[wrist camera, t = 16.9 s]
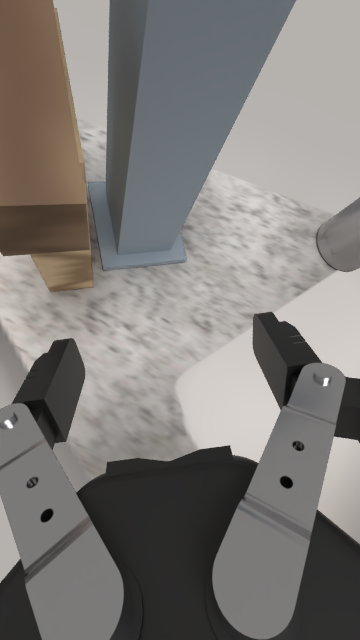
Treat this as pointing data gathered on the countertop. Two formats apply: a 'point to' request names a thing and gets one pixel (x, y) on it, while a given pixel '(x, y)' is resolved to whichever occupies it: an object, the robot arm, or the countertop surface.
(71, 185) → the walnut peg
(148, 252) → the blue grey stand
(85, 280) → the oak post
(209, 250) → the countertop surface
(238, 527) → the robot arm
